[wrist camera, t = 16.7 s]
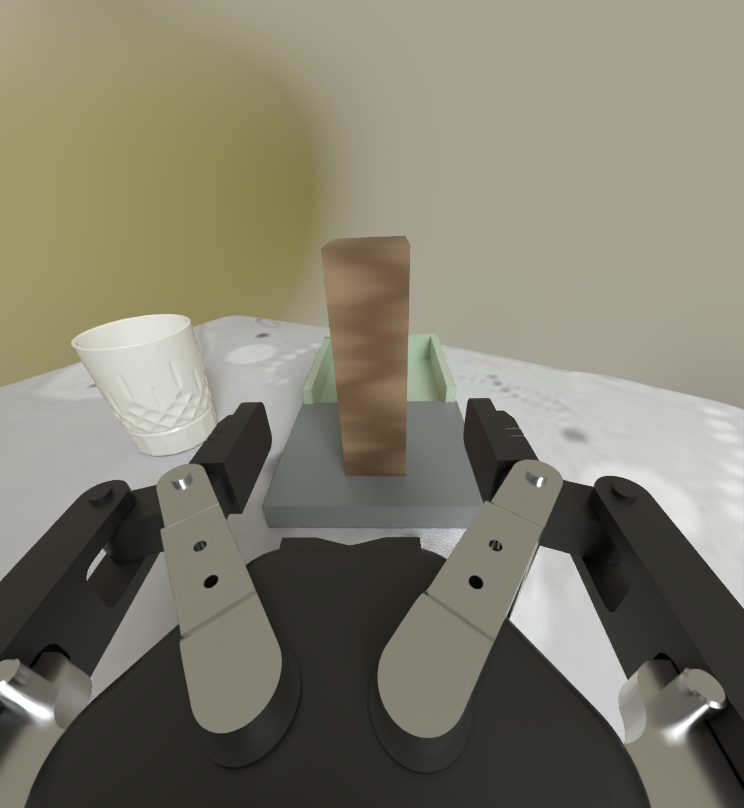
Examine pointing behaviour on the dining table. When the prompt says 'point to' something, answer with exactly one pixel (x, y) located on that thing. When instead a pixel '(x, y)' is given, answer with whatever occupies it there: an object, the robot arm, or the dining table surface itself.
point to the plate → (375, 495)
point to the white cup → (151, 380)
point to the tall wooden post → (370, 349)
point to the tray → (423, 380)
